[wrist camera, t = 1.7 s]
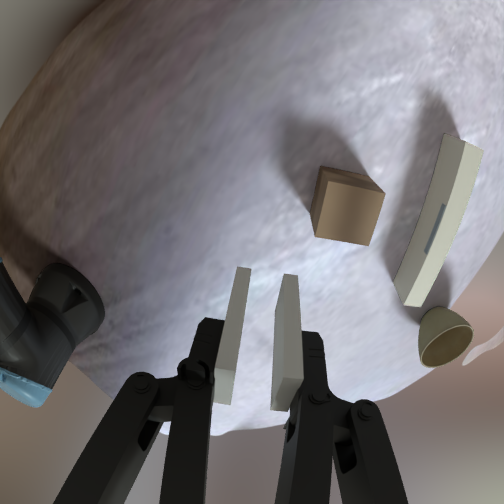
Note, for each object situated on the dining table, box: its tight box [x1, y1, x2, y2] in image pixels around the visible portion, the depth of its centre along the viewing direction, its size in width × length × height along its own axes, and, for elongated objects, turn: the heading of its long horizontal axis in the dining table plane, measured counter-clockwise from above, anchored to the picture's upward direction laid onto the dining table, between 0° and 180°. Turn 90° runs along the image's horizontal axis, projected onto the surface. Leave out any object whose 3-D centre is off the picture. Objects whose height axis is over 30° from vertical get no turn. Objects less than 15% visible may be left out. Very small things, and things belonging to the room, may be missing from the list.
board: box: [393, 133, 484, 307], centre depth 30 cm, size 3×22×5 cm, turn 173°
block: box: [310, 166, 385, 246], centre depth 30 cm, size 6×6×6 cm
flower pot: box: [418, 307, 474, 368], centre depth 38 cm, size 10×10×7 cm
